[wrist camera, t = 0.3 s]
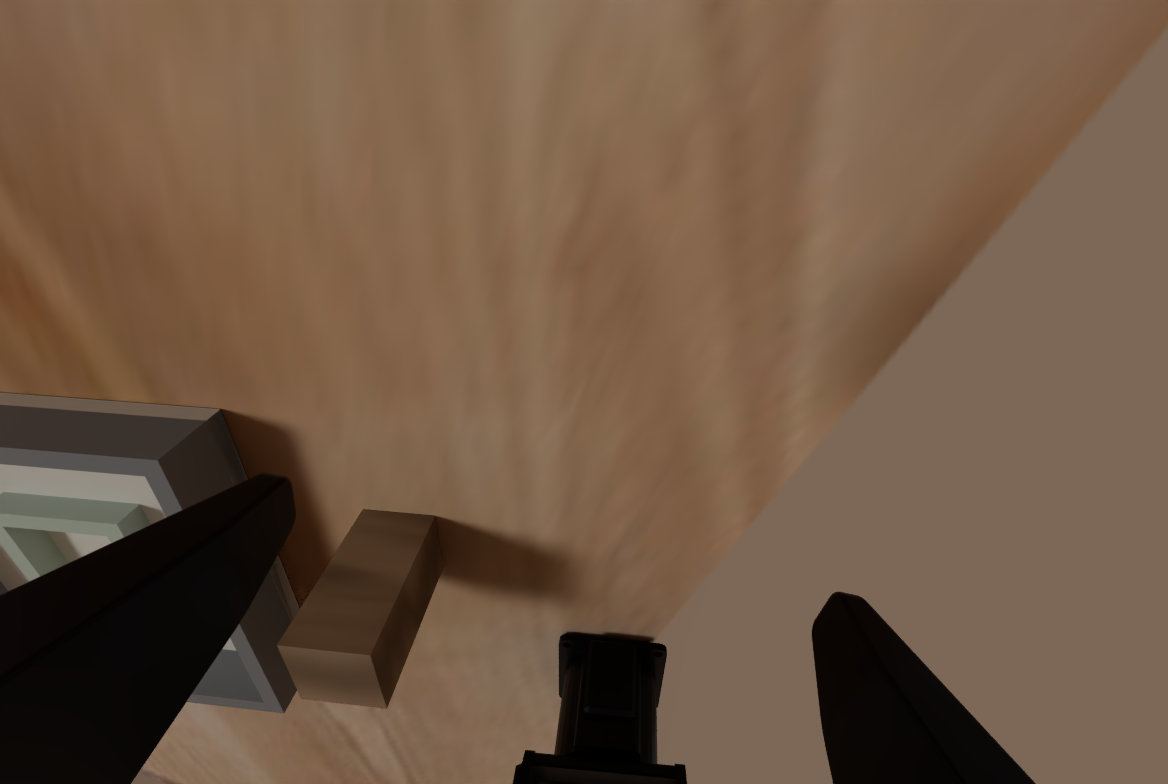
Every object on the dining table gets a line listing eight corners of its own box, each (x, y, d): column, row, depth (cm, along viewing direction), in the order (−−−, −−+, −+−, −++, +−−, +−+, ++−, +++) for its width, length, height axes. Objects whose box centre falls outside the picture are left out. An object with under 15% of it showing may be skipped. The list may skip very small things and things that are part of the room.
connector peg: (443, 566, 31) (386, 708, 24) (376, 560, 31) (301, 698, 24) (435, 515, 29) (370, 655, 22) (362, 509, 29) (276, 645, 22)
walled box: (317, 653, 37) (284, 713, 33) (47, 624, 38) (-11, 678, 35) (220, 408, 26) (157, 460, 23) (-147, 381, 28) (-258, 425, 24)
